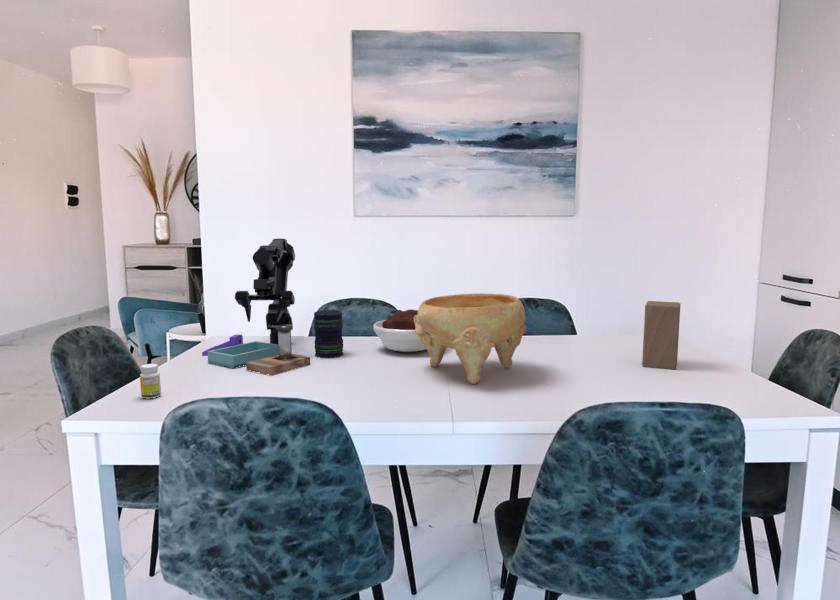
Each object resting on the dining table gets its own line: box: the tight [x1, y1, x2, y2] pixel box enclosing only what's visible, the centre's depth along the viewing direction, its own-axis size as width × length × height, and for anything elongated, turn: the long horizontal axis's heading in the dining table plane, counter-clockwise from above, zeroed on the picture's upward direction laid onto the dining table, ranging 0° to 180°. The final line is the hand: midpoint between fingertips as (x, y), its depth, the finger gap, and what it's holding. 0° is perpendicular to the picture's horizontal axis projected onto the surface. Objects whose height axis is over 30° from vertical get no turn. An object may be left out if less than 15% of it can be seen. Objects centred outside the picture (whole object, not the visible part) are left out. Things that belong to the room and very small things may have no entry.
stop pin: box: [276, 324, 294, 361], centre depth 183 cm, size 5×5×13 cm
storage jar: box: [313, 309, 344, 359], centre depth 197 cm, size 10×10×15 cm
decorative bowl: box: [414, 293, 528, 385], centre depth 175 cm, size 34×35×23 cm
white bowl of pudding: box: [373, 308, 427, 353], centre depth 205 cm, size 25×25×15 cm
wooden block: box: [641, 300, 681, 371], centre depth 182 cm, size 10×10×20 cm
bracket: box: [201, 334, 244, 357], centre depth 200 cm, size 12×7×7 cm, turn 87°
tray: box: [207, 340, 279, 369], centre depth 191 cm, size 20×13×4 cm, turn 146°
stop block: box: [245, 353, 311, 376], centre depth 181 cm, size 16×11×2 cm, turn 146°
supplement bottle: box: [139, 363, 162, 400], centre depth 150 cm, size 5×5×8 cm
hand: (262, 321), depth 187 cm, fingers open, 9 cm apart
